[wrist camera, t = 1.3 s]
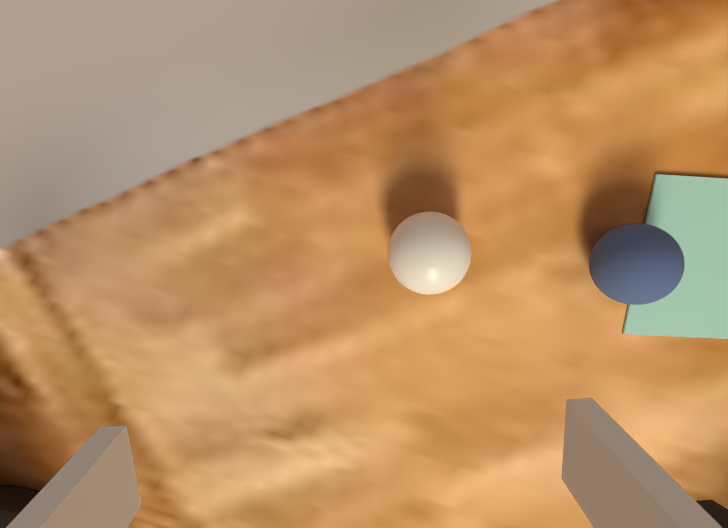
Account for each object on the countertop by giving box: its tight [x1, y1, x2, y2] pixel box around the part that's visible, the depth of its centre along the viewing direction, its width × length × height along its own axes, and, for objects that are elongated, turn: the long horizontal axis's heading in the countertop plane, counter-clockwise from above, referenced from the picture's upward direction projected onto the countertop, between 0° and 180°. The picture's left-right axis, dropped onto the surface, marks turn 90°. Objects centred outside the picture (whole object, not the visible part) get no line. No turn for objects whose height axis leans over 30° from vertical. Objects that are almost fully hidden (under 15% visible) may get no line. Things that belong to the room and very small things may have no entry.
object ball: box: [589, 223, 685, 305], centre depth 30 cm, size 6×6×6 cm
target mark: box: [622, 174, 728, 339], centre depth 33 cm, size 12×12×1 cm
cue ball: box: [388, 211, 472, 294], centre depth 29 cm, size 6×6×6 cm
